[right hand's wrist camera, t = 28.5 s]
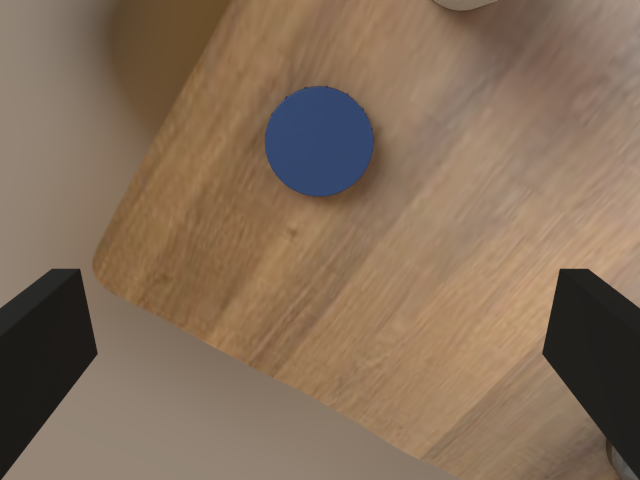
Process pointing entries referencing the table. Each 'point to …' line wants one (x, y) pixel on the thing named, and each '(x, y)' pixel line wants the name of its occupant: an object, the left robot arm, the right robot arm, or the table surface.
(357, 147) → the lid
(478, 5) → the jar
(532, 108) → the table surface
